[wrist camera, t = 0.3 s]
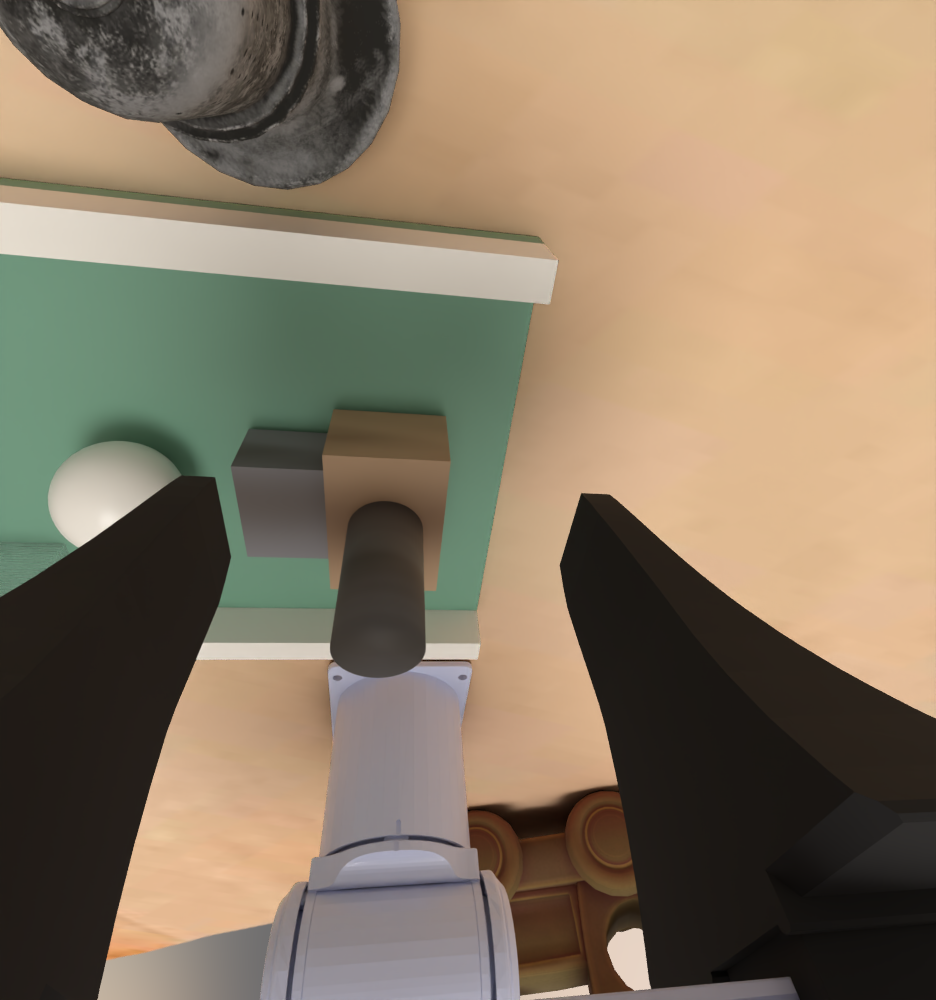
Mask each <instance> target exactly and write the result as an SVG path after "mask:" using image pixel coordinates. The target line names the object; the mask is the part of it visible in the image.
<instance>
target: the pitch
mask: <svg viewBox="0 0 936 1000" xmlns="http://www.w3.org/2000/svg"><path fill="white" fill-rule="evenodd" d="M558 261H559V260H558V259H557V258H556V257H555V256H554V254H553V253H552V252H551V251H550V250H549V249H548V248H547V246H546V245H545V244H544V243H543V242H542V241H541V239H540V238H539V237H536V236H527V235H517V234H508V233H499V232H490V231H481V230H472V229H463V228H454V227H445V226H435V225H426V224H417V223H408V222H399V221H390V220H381V219H372V218H363V217H354V216H344V215H335V214H326V213H317V212H308V211H299V210H290V209H281V208H272V207H262V206H253V205H244V204H235V203H226V202H217V201H208V200H199V199H190V198H180V197H171V196H162V195H153V194H144V193H135V192H126V191H117V190H108V189H98V188H89V187H80V186H71V185H62V184H53V183H44V182H35V181H26V180H17V179H7V178H0V542H32V543H65V545H66V547H67V549H68V552H69V554H70V553H71V552H73V551H74V550H76V549H77V548H78V547H77V546H75V545H74V544H72V543H71V542H69V541H68V540H67V539H66V538H65V537H64V536H63V535H62V534H61V533H60V532H59V530H58V529H57V527H56V526H55V524H54V522H53V521H52V518H51V515H50V512H49V507H48V492H49V487H50V483H51V481H52V479H53V477H54V475H55V473H56V471H57V470H58V469H59V467H60V466H61V465H62V463H63V462H65V461H66V460H67V459H68V458H69V457H70V456H71V455H73V454H74V453H76V452H78V451H80V450H81V449H83V448H85V447H88V446H91V445H93V444H97V443H101V442H108V441H127V442H134V443H139V444H142V445H145V446H148V447H150V448H152V449H154V450H156V451H158V452H160V453H161V454H163V455H164V456H165V457H167V458H168V459H169V460H170V461H171V462H172V463H173V464H174V465H175V466H176V468H177V469H178V470H179V472H180V473H181V475H183V476H205V477H215V479H216V484H217V489H218V494H219V499H220V504H221V509H222V514H223V519H224V523H225V528H226V533H227V538H228V543H229V548H230V553H231V560H230V564H229V568H228V572H227V576H226V581H225V584H224V588H223V592H222V595H221V599H220V602H219V605H218V608H217V610H216V613H215V615H214V617H213V620H212V622H211V625H210V627H209V630H208V632H207V635H206V637H205V639H204V642H203V644H202V646H201V649H200V651H199V654H198V656H197V658H196V660H326V659H333V658H332V656H331V654H330V642H331V635H332V628H333V622H334V615H335V608H336V601H337V595H338V589H330V575H329V559H318V558H277V557H247V552H246V546H245V541H244V536H243V530H242V525H241V519H240V514H239V509H238V503H237V498H236V493H235V487H234V482H233V477H232V471H231V465H232V462H233V460H234V458H235V456H236V454H237V452H238V450H239V448H240V446H241V444H242V442H243V440H244V438H245V436H246V433H247V431H248V429H259V430H277V431H296V432H314V433H328V429H329V425H330V421H331V417H332V413H333V409H339V410H355V411H372V412H388V413H404V414H420V415H437V416H446V421H447V431H448V441H449V450H450V460H451V463H450V472H449V481H448V490H447V499H446V508H445V516H444V525H443V534H442V543H441V552H440V561H439V570H438V579H437V588H436V591H424V594H425V634H426V651H425V655H424V657H423V659H478V655H479V650H480V645H481V642H480V634H479V625H478V617H477V606H478V600H479V595H480V589H481V584H482V579H483V573H484V568H485V562H486V557H487V552H488V546H489V541H490V535H491V530H492V525H493V519H494V514H495V508H496V503H497V497H498V492H499V487H500V481H501V476H502V470H503V465H504V460H505V454H506V449H507V443H508V438H509V433H510V427H511V422H512V416H513V411H514V405H515V400H516V395H517V389H518V384H519V378H520V373H521V368H522V362H523V357H524V351H525V346H526V341H527V335H528V330H529V324H530V319H531V314H532V308H533V303H540V304H550V300H551V295H552V291H553V286H554V281H555V276H556V271H557V266H558Z"/></svg>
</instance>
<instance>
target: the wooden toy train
mask: <svg viewBox="0 0 936 1000" xmlns="http://www.w3.org/2000/svg"><path fill="white" fill-rule="evenodd" d="M468 825H469V838H470V848H476V849H477V852H478V864H479V871H482V870H491V871H492V872H493V873H494V875H495V877H496V878H497V879H498V880H499V882H500V883H501V884H502V885H503V886H504V888H505V890H506V893H507V896H508V899H509V903H510V908H511V913H512V919H513V925H514V932H515V939H516V948H517V958H518V969H519V986H520V996H521V995H528V994H535V993H543V992H550V991H558V990H563V989H568V988H573V987H577V986H583V985H588V987H589V993H590V995H592V994H603V993H614V992H625V991H634V990H633V989H631V988H630V987H628V986H626V984H625V983H624V981H623V980H622V979H621V978H620V976H619V975H618V974H617V972H616V971H615V970H614V967H613V965H612V962H611V959H610V957H609V954H608V951H607V946H608V943H609V941H610V940H611V939H612V937H613V936H614V935H615V934H616V932H623V931H626V930H629V929H632V928H640V929H642V922H641V915H640V909H639V902H638V895H637V888H636V881H635V875H634V870H633V864H632V858H631V852H630V846H629V840H628V835H627V829H626V823H625V818H624V813H623V808H622V803H621V798H620V793H618V792H615V791H598V792H595V793H592V794H589V795H586V796H585V797H584V798H582V799H581V800H580V801H579V802H577V803H576V804H575V806H574V808H573V809H572V811H571V812H570V814H569V816H568V820H567V824H566V828H565V833H559V834H552V835H545V836H539V837H532V838H525V839H518V837H517V835H516V833H515V832H514V830H513V829H512V827H511V826H510V824H508V823H507V822H506V821H505V820H504V819H502V818H501V817H500V816H499V815H496V814H493V813H491V812H488V811H480V810H472V811H469V812H468ZM642 930H643V929H642Z"/></svg>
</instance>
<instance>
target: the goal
mask: <svg viewBox="0 0 936 1000" xmlns="http://www.w3.org/2000/svg"><path fill="white" fill-rule="evenodd" d="M68 554H69V552H68V549H67V547H66V545H65V543H32V542H0V597H1V596H3V595H4V594H6V593H8V592H10V591H11V590H13V589H15V588H16V587H18V586H20V585H21V584H23V583H25V582H26V581H28V580H30V579H31V578H33V577H35V576H36V575H38V574H39V573H41V572H42V571H44V570H45V569H47V568H48V567H50V566H51V565H53V564H55V563H56V562H58V561H59V560H61V559H62V558H64V557H65V556H67V555H68Z"/></svg>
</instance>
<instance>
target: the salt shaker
mask: <svg viewBox="0 0 936 1000" xmlns="http://www.w3.org/2000/svg"><path fill="white" fill-rule="evenodd" d="M0 28H1V29H2V30H3V32H4V33H5V34H6V36H7V37H8V38H9V40H10V41H11V42H12V44H13V45H14V46H15V47H16V48H17V49H18V50H19V51H20V52H21V53H22V54H23V55H24V56H25V57H26V58H27V59H28V60H29V61H30V62H31V63H32V64H33V65H34V66H36V67H37V68H38V69H39V70H40V71H41V72H42V73H43V74H44V75H45V76H46V77H47V78H49V79H50V80H52V81H53V82H55V83H56V84H58V85H59V86H61V87H62V88H64V89H65V90H67V91H68V92H70V93H71V94H73V95H74V96H76V97H77V98H79V99H80V100H82V101H84V102H86V103H88V104H90V105H92V106H95V107H97V108H100V109H102V110H105V111H107V112H110V113H112V114H115V115H117V116H120V117H123V118H125V119H131V120H140V121H149V122H157V123H160V122H161V123H162V124H163V125H164V126H165V127H166V128H167V129H168V130H169V131H170V132H171V133H172V134H173V135H174V136H175V137H176V138H177V139H178V140H179V141H180V143H181V144H182V145H183V146H184V147H185V148H186V149H188V150H189V151H191V152H192V153H193V154H195V155H196V156H198V157H199V158H201V159H202V160H203V161H205V162H206V163H208V164H209V165H211V166H212V167H214V168H215V169H216V170H218V171H219V172H221V173H224V174H226V175H229V176H231V177H234V178H236V179H239V180H241V181H244V182H246V183H249V184H251V185H254V186H262V187H270V188H278V189H287V190H288V189H294V188H299V187H305V186H311V185H316V184H320V183H322V182H324V181H326V180H328V179H329V178H331V177H333V176H335V175H337V174H339V173H340V172H342V171H344V170H346V169H348V168H349V167H350V166H351V165H352V164H353V162H354V161H355V160H356V159H357V158H358V157H359V156H360V155H361V154H362V153H363V152H364V151H365V150H366V149H367V148H368V147H369V146H370V145H371V144H372V142H373V140H374V138H375V136H376V134H377V132H378V131H379V129H380V127H381V125H382V123H383V121H384V119H385V117H386V115H387V114H388V112H389V108H390V104H391V100H392V96H393V92H394V88H395V84H396V80H397V76H398V72H399V54H400V18H399V12H398V6H397V0H0Z"/></svg>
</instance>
